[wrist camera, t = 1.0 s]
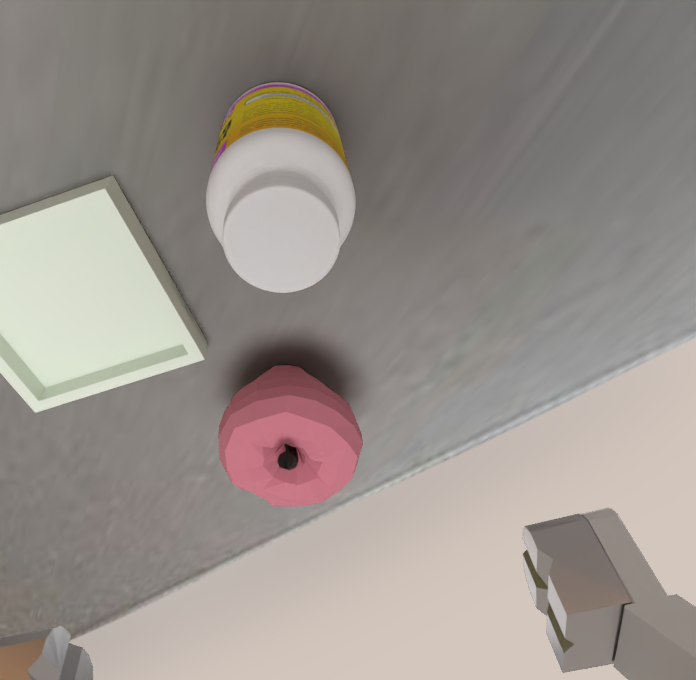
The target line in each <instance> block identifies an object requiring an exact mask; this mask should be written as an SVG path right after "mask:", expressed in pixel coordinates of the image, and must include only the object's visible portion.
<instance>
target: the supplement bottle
mask: <svg viewBox="0 0 696 680" xmlns="http://www.w3.org/2000/svg"><path fill="white" fill-rule="evenodd" d="M355 206H356V201H355V191H354V186H353V183H352V179H351V175H350V172H349V168H348V165H347V161H346V157H345V154H344V150H343V146H342V142H341V138H340V135H339V131H338V128H337V125H336V123H335V120H334V118H333V116H332V114H331V113H330V111H329V109H328V108H327V107H326V105H325V104H324V103H323V102H322V101H321V100H320V99H319V98H318V97H317V96H316V95H314V94H313V93H311V92H310V91H308V90H306V89H304V88H302V87H300V86H297V85H294V84H290V83H284V82H273V83H266V84H262V85H259V86H256V87H254V88H252V89H250V90H248V91H247V92H245V93H244V94H242V95H241V96H240V97H239V98H238V99H237V100H236V101H235V102H234V103H233V105H232V106H231V107H230V109H229V110H228V112H227V114H226V116H225V119H224V121H223V125H222V128H221V132H220V136H219V140H218V144H217V148H216V152H215V156H214V161H213V165H212V169H211V173H210V177H209V181H208V186H207V192H206V208H207V214H208V219H209V222H210V225H211V228H212V230H213V232H214V234H215V236H216V237H217V239H218V240H219V242H220V243H221V245H222V246H223V248H224V252H225V255H226V257H227V260H228V262H229V263H230V265H231V267H232V268H233V269H234V271H235V272H236V273H237V274H238V275H239V276H240V277H241V278H242V279H244V280H245V281H246V282H248V283H250V284H251V285H253V286H255V287H257V288H260V289H263V290H266V291H271V292H278V293H287V292H295V291H299V290H302V289H305V288H308V287H310V286H312V285H313V284H315V283H317V282H318V281H320V280H321V279H322V278H323V277H324V276H325V275H326V274H327V273H328V272H329V271H330V270H331V268H332V267H333V265H334V263H335V261H336V259H337V256H338V253H339V250H340V247H341V245H342V244H343V243H344V241H345V239H346V238H347V236H348V234H349V232H350V229H351V227H352V224H353V220H354V215H355Z"/></svg>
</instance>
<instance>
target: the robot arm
mask: <svg viewBox="0 0 696 680" xmlns="http://www.w3.org/2000/svg"><path fill="white" fill-rule="evenodd" d="M523 541H524V543H525V545H526V548H527V550H526V551H525V552H524V553H523V566H524V571H525V576H526V581H527V583H528V587H529V590H530V593H531V596H532V598H533V601H534V603H535V606H536V608H537V609H538V610H540V611H541V612H542V613H544V614H545V615H546V616H547V631H546V632H547V636H548V638H549V641H550V643H551V645H552V648H553V650H554V653H555V655H556V658H557V660H558V662H559V665H560V667H561V670H562V672H563V673H565V672H570V671H575V670H580V669H587V668H592V667H598V666H603V665H608V664H614V667H615V668H616V669H617V670H618V671H619V672H620V673H621V674H622V675H624V676H625V677H626V678H627V679H628V680H696V607H695V606H694V605H692V604H691V603H689V602H688V601H686V600H685V599H683V598H682V597H680V596H678V595H677V594H676V595H669V596H667V594H666V592H665V591H664V589H663V587H662V586H661V584H660V583H659V581H658V579H657V578H656V576H655V574H654V573H653V571H652V569H651V568H650V566H649V565H648V563H647V561H646V560H645V558H644V556H643V555H642V553H641V551H640V550H639V548H638V547H637V545H636V543H635V542H634V540H633V538H632V537H631V535H630V533H629V532H628V530H627V529H626V527H625V525H624V524H623V522H622V520H621V519H620V517H619V516H618V514H617V513H616V512H615V511H613V510H612V509H610V508H605V509H601V510H596V511H592V512H588V513H583V514H575V515H571V516H567V517H562V518H559V519H554V520H549V521H545V522H541V523H537V524H532V525H528V526H525V527H524V528H523ZM70 637H71V634H70V633H69V632H68V631H67V630H66V629H65V628H64V627H62V626H57V627H52V628H47V629H42V630H38V631H33V632H28V633H23V634H18V635H14V636H9V637H1V638H0V680H93V666H92V663H91V660H90V658H89V655H88V654H87V652H86V651H85V650H84V649H83V648H82V647H79V646H76V645H73V644H70V643H69V641H70Z"/></svg>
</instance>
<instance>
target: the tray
mask: <svg viewBox="0 0 696 680" xmlns="http://www.w3.org/2000/svg"><path fill="white" fill-rule="evenodd" d="M207 343H208V342H207V340H206V338H205V337H204V335H203V333H202V331H201V329H200V328H199V326H198V324H197V322H196V321H195V319H194V317H193V315H192V314H191V312H190V310H189V308H188V307H187V305H186V303H185V301H184V300H183V298H182V296H181V294H180V292H179V291H178V289H177V287H176V285H175V284H174V282H173V280H172V278H171V277H170V275H169V273H168V271H167V270H166V268H165V266H164V264H163V263H162V261H161V259H160V257H159V255H158V254H157V252H156V250H155V248H154V247H153V245H152V243H151V241H150V240H149V238H148V236H147V234H146V233H145V231H144V229H143V227H142V226H141V224H140V222H139V220H138V218H137V217H136V215H135V213H134V211H133V210H132V208H131V206H130V204H129V203H128V201H127V199H126V197H125V196H124V194H123V192H122V190H121V189H120V187H119V185H118V183H117V181H116V180H115V178H114V176H110V177H107V178H104V179H101V180H98V181H96V182H93V183H90V184H87V185H84V186H81V187H78V188H76V189H73V190H70V191H67V192H64V193H61V194H58V195H56V196H53V197H50V198H47V199H44V200H41V201H38V202H36V203H33V204H30V205H27V206H24V207H21V208H19V209H16V210H13V211H10V212H7V213H4V214H1V215H0V373H1V374H2V375H3V376H4V377H5V378H6V380H7V381H8V382H9V383H10V384H11V385H12V387H13V388H14V389H15V390H16V391H17V392H18V393H19V395H20V396H21V397H22V398H23V399H24V400H25V401H26V403H27V404H28V405H29V406H30V407H31V408H32V409H33V411H34V412H35V413H36V412H39V411H42V410H45V409H49V408H52V407H55V406H58V405H61V404H64V403H68V402H71V401H74V400H77V399H80V398H84V397H87V396H90V395H93V394H96V393H100V392H103V391H106V390H109V389H112V388H116V387H119V386H122V385H125V384H128V383H132V382H135V381H138V380H141V379H144V378H147V377H151V376H154V375H157V374H160V373H163V372H167V371H170V370H173V369H176V368H179V367H183V366H186V365H189V364H192V363H195V362H199V361H202V360H205V356H206V350H207Z"/></svg>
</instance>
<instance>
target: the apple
mask: <svg viewBox="0 0 696 680" xmlns="http://www.w3.org/2000/svg"><path fill="white" fill-rule="evenodd" d="M218 438H219V454H220V460H221V462H222V465H223V467H224V469H225V471H226V472H227V474H228V476H229V478H230V480H231V481H232V483H233V485H235V486H238V487H240V488H241V489H243V490H249V491H252V492H254V493H255V494H256V495H257V496H260V497H262V498H264V499H266V500H267V501H268V502H269V503H270V506H303V505H311V504H319V503H321V502H323V501H324V500H326V499H327V498H329V497H331V496H332V495H334V494H335V493H337V492H338V491H340V490H341V489H342V488H343V487H344V486H345V485H346V484H347V483H348V482H349V481H350V480H351V479H352V478H353V475H354V472H355V469H356V466H357V462H358V459H359V455H360V452H361V449H362V445H363V442H362V435H361V432H360V429H359V427H358V424H357V422H356V419H355V417H354V414H353V412H352V410H351V408H350V406H349V404H348V403H347V402H346V401H345V400H344V399H343V398H341V397H340V396H339V395H338V394H336V393H335V392H333V391H332V390H330V389H329V388H328V387H327V386H325V385H324V384H323V383H322V382H321V381H319V380H318V379H316V378H315V377H313V376H311V375H309V374H308V373H307V372H305V371H304V370H303V369H301V368H300V367H297V366H291V365H280V366H274V367H272V368H271V369H269V370H268V371H266V372H265V373H263V374H262V375H260V376H259V377H257V378H256V379H255V380H254V381H253V382H251V383H249V384H248V385H246V386H244V387H242V388H241V389H240V390H239V391H238V392H237V393H236V394H235V395H234V396H233V398H232V400H231V402H230V404H229V405H228V407H227V409H226V411H225V412H224V414H223V417H222V420H221V423H220V425H219V437H218Z"/></svg>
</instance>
